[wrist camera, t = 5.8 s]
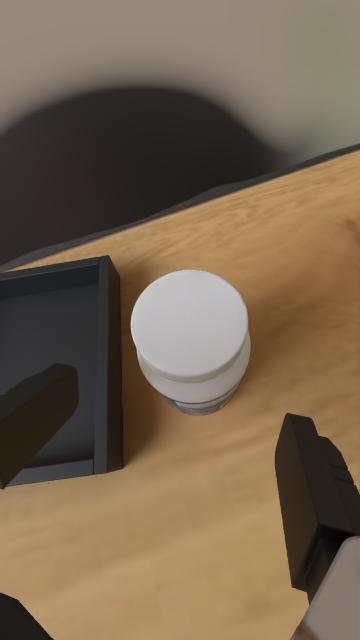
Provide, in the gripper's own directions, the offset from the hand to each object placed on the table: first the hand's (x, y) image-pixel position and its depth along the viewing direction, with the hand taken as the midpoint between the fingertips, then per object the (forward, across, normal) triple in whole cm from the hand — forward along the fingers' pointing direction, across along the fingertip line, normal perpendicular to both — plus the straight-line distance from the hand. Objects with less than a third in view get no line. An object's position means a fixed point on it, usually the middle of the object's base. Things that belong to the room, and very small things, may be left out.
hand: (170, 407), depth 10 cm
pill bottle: (+9, 0, +4) cm, 10 cm away
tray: (+7, +13, +5) cm, 16 cm away
